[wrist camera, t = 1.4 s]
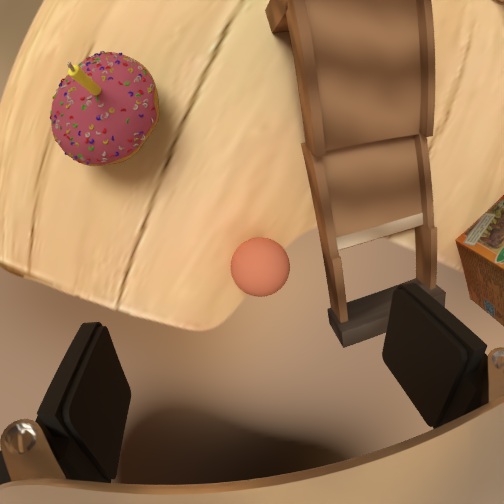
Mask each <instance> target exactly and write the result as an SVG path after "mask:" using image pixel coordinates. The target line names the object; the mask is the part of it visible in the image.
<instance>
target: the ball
mask: <svg viewBox="0 0 504 504" xmlns="http://www.w3.org/2000/svg"><path fill="white" fill-rule="evenodd" d="M289 271H290V264H289V259H288V256H287V254H286V252H285V250H284V249H283V248H282V247H281V246H280V245H279V244H278V243H277V242H275V241H273V240H271V239H268V238H253V239H250V240H248V241H246V242H244V243H243V244H241V245H240V246H239V247H238V248H237V250H236V251H235V253H234V255H233V257H232V261H231V273H232V277H233V279H234V281H235V283H236V284H237V286H238V287H239V288H240V289H241V290H243V291H244V292H245V293H247V294H250V295H253V296H261V297H262V296H268V295H271V294H273V293H275V292H276V291H278V290H279V289H280V288H281V287H282V286H283V285H284V284H285V282H286V281H287V278H288V275H289Z"/></svg>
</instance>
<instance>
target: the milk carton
mask: <svg viewBox="0 0 504 504" xmlns="http://www.w3.org/2000/svg"><path fill="white" fill-rule="evenodd" d="M456 244H457V247H458V251H459V254H460V258H461V262H462V266H463V269H464V273H465V278H466V282H467V286H468V291H469V294H470V298H471V300H473V301H474V302H475V303H476V304H478V305H479V306H480V307H481V308H482V309H484V310H485V311H486V312H487V313H489V314H490V315H491V316H492V317H493V318H495V319H496V320H497V321H498V322H499V323H501V324H502V325H503V326H504V195H503V196H502V197H501V198H500V199H499V200H498V201H497V202H496V203H495V204H494V205H493V206H492V207H491V208H490V209H489V210H488V211H487V212H486V213H485V214H484V215H483V216H481V217H480V218H479V219H478V220H477V221H476V222H475V223H474V224H473V225H472V226H471V227H470V228H468V229H467V230H466V231H465V232H464V233H463V234H462V235H461V236H459V237H458V238H457V239H456Z"/></svg>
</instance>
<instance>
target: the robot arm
mask: <svg viewBox="0 0 504 504" xmlns="http://www.w3.org/2000/svg"><path fill="white" fill-rule="evenodd" d="M498 1H500V2H504V0H498ZM486 348H487V345H486V344H485V343H484V342H483V341H482V340H481V339H480V338H479V337H478V336H477V335H475V334H474V333H473V332H472V331H471V330H470V329H469V328H468V327H466V326H465V325H464V324H463V323H462V322H461V321H460V320H458V319H457V318H456V317H455V316H454V315H453V314H452V313H450V312H449V311H448V310H447V309H445V307H444V306H442V305H441V304H440V303H439V302H438V301H436V300H435V299H434V298H433V297H432V296H430V295H429V294H428V293H427V292H426V291H424V290H423V289H422V288H421V287H420V286H418V285H417V284H416V283H414V282H412V283H406V284H401V285H399V286H398V287H397V288H396V290H394V292H393V295H392V301H391V308H390V314H389V320H388V326H387V331H386V337H385V342H384V347H383V352H382V356H383V360H384V362H385V364H386V365H387V367H388V368H389V370H390V371H391V372H392V374H393V375H394V377H395V378H396V379H397V381H398V382H399V384H400V385H401V387H402V388H403V389H404V391H405V392H406V394H407V395H408V397H409V398H410V400H411V401H412V403H413V404H414V405H415V407H416V408H417V410H418V411H419V413H420V414H421V416H422V417H423V419H424V420H425V422H426V423H427V424H428V425H429V426H430V427H433V428H434V429H433V430H431V431H429V432H426V433H424V434H421V435H419V436H416V437H414V438H411V439H409V440H407V441H404V442H401V443H398V444H396V445H393V446H390V447H387V448H384V449H381V450H378V451H375V452H372V453H369V454H366V455H362V456H359V457H356V458H352V459H349V460H346V461H342V462H338V463H334V464H330V465H327V466H322V467H318V468H314V469H310V470H305V471H300V472H295V473H290V474H284V475H278V476H272V477H267V478H259V479H252V480H244V481H235V482H225V483H213V484H196V485H133V484H114V483H111V479H115V478H116V475H117V469H118V463H119V457H120V451H121V445H122V439H123V434H124V429H125V424H126V419H127V414H128V409H129V404H130V399H131V390H130V387H129V384H128V382H127V379H126V377H125V375H124V372H123V369H122V367H121V364H120V362H119V359H118V356H117V354H116V351H115V348H114V345H113V342H112V340H111V337H110V334H109V331H108V329H107V327H106V326H102V324H101V323H100V322H92V323H83V324H82V325H81V327H80V328H79V330H78V332H77V334H76V336H75V337H74V340H73V341H72V343H71V345H70V347H69V349H68V350H67V352H66V354H65V356H64V358H63V360H62V362H61V364H60V366H59V368H58V370H57V372H56V374H55V376H54V378H53V380H52V382H51V384H50V386H49V388H48V390H47V392H46V394H45V396H44V399H43V401H42V403H41V405H40V407H39V410H38V412H37V414H38V416H37V419H36V421H33V420H29V419H20V420H17V421H14V422H13V423H11V424H10V425H8V426H7V428H6V429H5V430H4V431H3V433H2V435H1V439H0V447H1V451H0V504H504V348H501V347H500V348H495V349H493V350H492V351H491V352H490V353H489V354H488V356H487V355H486V354H485V350H486Z"/></svg>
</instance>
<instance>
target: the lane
mask: <svg viewBox="0 0 504 504" xmlns="http://www.w3.org/2000/svg"><path fill="white" fill-rule="evenodd" d="M265 11H266V15H267V18H268V21H269V24H270V28H271V31H272V33H276V32H283V31H289V34H290V39H291V45H292V51H293V56H294V63H295V69H296V75H297V82H298V88H299V95H300V102H301V109H302V117H303V124H304V132H305V140H306V143H302V144H301V146H302V150H303V155H304V159H305V164H306V169H307V173H308V178H309V183H310V188H311V193H312V198H313V203H314V208H315V213H316V219H317V224H318V230H319V235H320V241H321V247H322V252H323V258H324V265H325V271H326V277H327V284H328V290H329V297H330V304H331V308H329V309H328V316H329V323H330V325H331V326H332V329H333V330H334V332H335V334H336V336H337V337H338V339H339V341H340V343H341V344H342V346H343V348H344V347H347V346H350V345H353V344H356V343H359V342H361V341H364V340H367V339H370V338H372V337H375V336H378V335H380V334H383V333H385V332H386V331H387V326H388V320H389V314H390V308H391V301H392V295H393V292H394V290H396V288H397V287H398V286H399V285H396V286H394V287H391V288H388V289H386V290H383V291H380V292H377V293H374V294H371V295H368V296H365V297H362V298H360V299H357V300H354V301H350V302H347V303H346V295H345V287H344V279H343V270H342V263H341V257H340V256H339V254H338V250H341V249H345V248H348V247H351V246H355V245H358V244H362V243H365V242H368V241H372V240H375V239H378V238H382V237H385V236H388V235H391V234H395V233H398V232H401V231H405V230H408V229H411V228H414V227H415V237H416V278H415V279H413V280H410V281H408V282H405V283H402V284H406V283H412V282H414V283H416V284H417V285H418V286H420V287H421V288H422V289H423V290H424V291H426V292H427V293H428V294H429V295H430V296H432V297H433V298H434V299H435V300H436V301H438V302H439V303H440V304H441V305H442V306H444V307H445V294H446V292H444V291H443V290H442V289H441V288H440V287H438V286H437V285H436V274H437V227H435V226H434V213H433V195H432V182H431V171H430V162H429V153H428V145H427V138H426V137H430V136H433V126H434V108H435V43H434V26H433V14H432V4H431V0H270V1H269V4H268V6H267V8H266V10H265ZM400 285H401V284H400Z"/></svg>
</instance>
